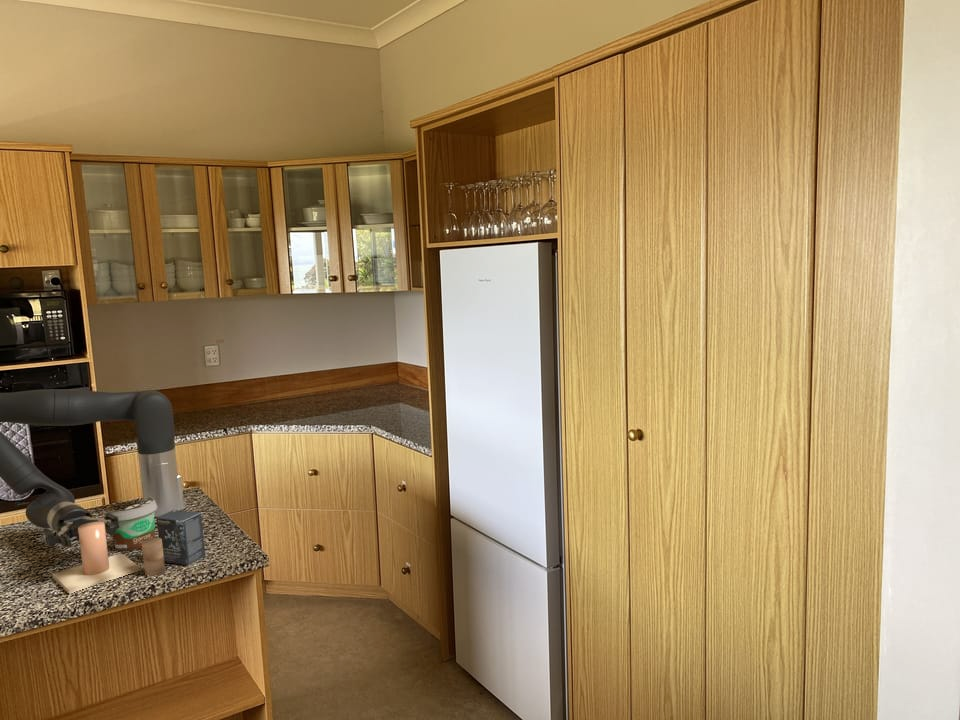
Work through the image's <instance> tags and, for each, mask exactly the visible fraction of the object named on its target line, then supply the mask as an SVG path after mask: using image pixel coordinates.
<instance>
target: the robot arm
mask: <svg viewBox="0 0 960 720" xmlns="http://www.w3.org/2000/svg"><path fill="white" fill-rule="evenodd" d="M105 421H129V422H134V424H135V431H136V449H137V459H138V466H139V467H138V468H139V475H140V483H141V492H142V502H144V501H146V500H148V496H149V497H152V498H153V499H154V500H155V502H156V505H157V509H156V510H155V511H154V518H157V517H159V516H161V515H163V514H165V513H168V512H170V511H172V510H174V509H175V510H180V511H183V510H185V502H184V492H183V482H182V481H183V480H182V476H181V475H180V474H178V472H179V470H178V462H177V453H176V443H175V440H176V432H175V431H176V430H175V424H174V423H175V421H174V411H173V407H172V403H171V401H170V399H169V398H168V397H167V396H166V395H165V394H163V393H162V392H161V391H158V390H154V389H149V390H136V391H124V392H109V391H108V392H105V391H98V390H96V391H95V390H87V389H86V390H83V389H67V388H66V389H65V388H63V389H61V388H60V389H56V388H53V389H48V388H47V389H34V390H33V389H31V390H22V391H16V392H14V391H13V392H0V423H13V424H20V425H21V424H22V425H30V426H31V425H32V426H46V427H47V426H49V427H50V426H51V427H52V426H53V427H55V426H56V427H59V426H60V427H66V426H67V427H68V426H82V425H87V424H94V423H98V422H99V423H100V422H105ZM0 479H1V480H3V482H4V483H5V485H7V486H8V487H9V488H10V489H11V490H12V491H13V492H14V494H16V495H18V496H22V495H26V494H27V493H28V494H29V492H31V491H34V490H37V489H39V488H40V489H43V490H46V491H45V492H43V493H42V494H40V496H38V497H37V498H36V499H34V500H32V501H31V502H30V503H29V504H28V505H27V506H26V508H25V516H26V518H27V520H28V521H29V522H30V523H31V524H32V525H34V526H35V527H37V528H41V529H42V535H43V541H44V543H45V544H46V545H47V547H48V548H52V547H55V545H57V544H58V545H59V546H62V547H66V548H67V549H68V548H69V549H70V548H72V542H75V541H76V542H77V541H79V532H78V527H79V526H81V525H84V524H87V523H91V522H104V525H105V533H106V534H107V535H109V536H110V537H113V535H115V533H116V529H118V528H120V527H119V521H118V517H117V516H114V515H112V514H110V513H108V512H106V513H104V514H103V517H94V516H93V515H92V514H91V512H90V511H88V510H87V509H85V508H83V506H81V505H79V504H78V503H76V500H75V496H74V494H73V493H72V492H71V491H70V490H69V489H67V488H66V487H64V486H62V485H60V484H58V483H56V482H55V481H54V480H52V479H50V477H48V476H46V475H45V474H44V473H43V472H42V471H41V470H40V469H39V468H38V467H37V466H36V465H35V463H33V461H31V460H30V459H29V457H28V456H26V454H25V453H24V452H23V451H21V450H20V448H18V447H17V446H16V445H15V444H14V443H13V442H12V441H11V440H9V438H8V437H6V436H5V434H3V432H2V431H0Z"/></svg>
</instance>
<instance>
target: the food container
mask: <svg viewBox="0 0 960 720" xmlns="http://www.w3.org/2000/svg"><path fill="white" fill-rule="evenodd" d="M156 509H157V505H156V502H155V500H154V499H153V498H152V497H149V496H148V500H146V501H144V502H143V501H142V502H139V503H135V504H130V505H128V506H125V507H124V508H122V509H120V510H118V511H117V510H116V511H111V510H110V511H109V510H108V511H107V513H110V514H112V515H114V516H117V517H118V521H119V527H120V528H118V529H116V533H115V535H113V536H112V538H113V543H114V547H115V551H116V550H118V551H117V552H128V551H127V550H131V551H135V549H137V550H139V548H141V549H142V544H141V543H142V542H143V541H145V540H147V539H151V538H156V537H155V536H156V535H155V532H156V531H155V526H156V525H155V517H154V511H155V510H156Z"/></svg>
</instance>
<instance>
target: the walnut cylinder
mask: <svg viewBox="0 0 960 720" xmlns="http://www.w3.org/2000/svg"><path fill="white" fill-rule="evenodd" d="M141 544H142V548H141V551H142V559H143V560H142V561H143V566H144V575H145V576H146V575H149V576H148V577H156V576H159V575H162V574H164V573H165V572H166V565H165V563H166V562H164V554H163V546H162V539H161V538H159V537H155V538H151V539H147V540H145V541H143V542H142V543H141ZM155 575H156V576H155Z"/></svg>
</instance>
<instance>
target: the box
mask: <svg viewBox="0 0 960 720" xmlns="http://www.w3.org/2000/svg"><path fill="white" fill-rule="evenodd" d="M202 520H203V517H202V512H198V511H188V510H175V509H174V510H172V511H170V512H168V513H165V514H163V515H161V516H159V517H156V524H157V533H158V534H157V535H158V538H161V539H162V546H163V554H164V563H170V564H175V565H177V564H178V565H181V566H182V565H184V566H187V567H189V566H191V565H192V564H194V563H196V562H198V561H200V560H202V559H203V558H205V557H206V549H205V540H204V539H205V538H204V529H203V528H204V526H203V521H202Z"/></svg>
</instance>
